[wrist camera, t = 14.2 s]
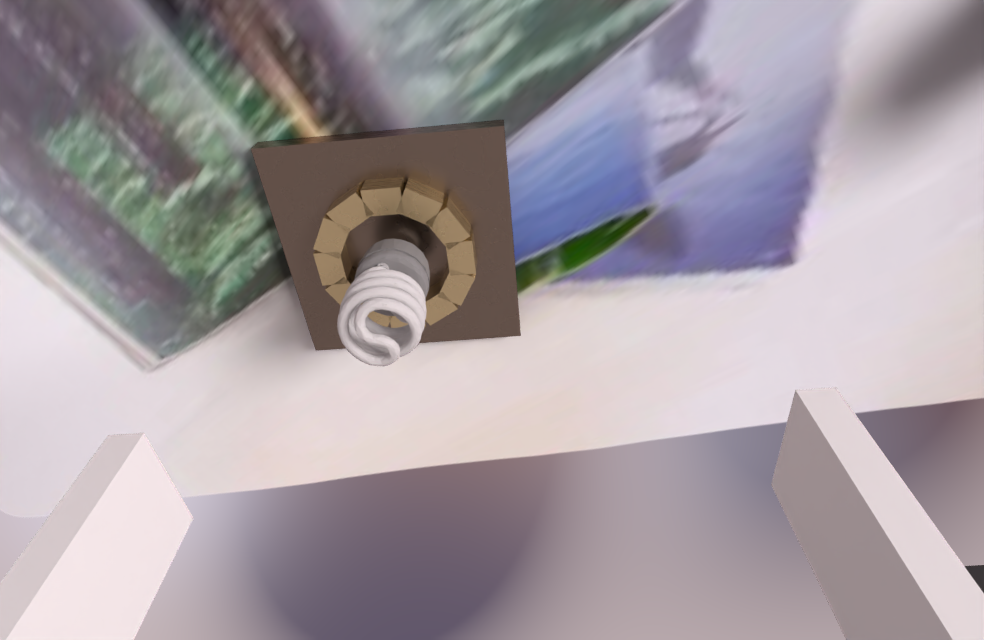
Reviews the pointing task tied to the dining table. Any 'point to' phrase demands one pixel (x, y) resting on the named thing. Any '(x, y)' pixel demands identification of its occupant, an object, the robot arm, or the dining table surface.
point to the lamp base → (398, 221)
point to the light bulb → (385, 302)
